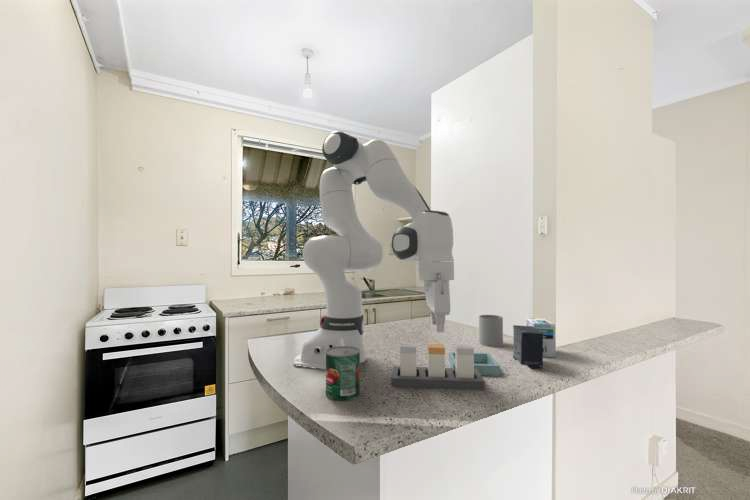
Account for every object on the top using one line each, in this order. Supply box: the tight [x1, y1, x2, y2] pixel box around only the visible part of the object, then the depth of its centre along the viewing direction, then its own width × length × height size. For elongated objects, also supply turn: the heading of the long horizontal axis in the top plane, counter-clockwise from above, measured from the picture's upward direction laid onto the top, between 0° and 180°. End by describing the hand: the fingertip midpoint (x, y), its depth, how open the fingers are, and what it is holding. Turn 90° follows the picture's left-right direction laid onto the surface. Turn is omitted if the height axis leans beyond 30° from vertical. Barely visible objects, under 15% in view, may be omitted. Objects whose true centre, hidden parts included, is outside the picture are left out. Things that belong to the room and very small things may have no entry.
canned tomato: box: [325, 346, 361, 402], centre depth 79 cm, size 8×8×11 cm
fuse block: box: [391, 365, 486, 391], centre depth 87 cm, size 22×9×3 cm, turn 84°
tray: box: [448, 351, 501, 376], centre depth 98 cm, size 12×12×4 cm
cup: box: [478, 314, 504, 348], centre depth 127 cm, size 8×8×10 cm
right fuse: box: [454, 343, 475, 378], centre depth 86 cm, size 4×4×9 cm
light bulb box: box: [526, 317, 557, 358], centre depth 116 cm, size 11×7×11 cm, turn 168°
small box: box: [512, 324, 544, 370], centre depth 105 cm, size 11×6×10 cm, turn 171°
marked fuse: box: [427, 342, 446, 377], centre depth 87 cm, size 4×4×9 cm
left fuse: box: [399, 342, 417, 376], centre depth 88 cm, size 4×4×9 cm
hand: (437, 328), depth 87 cm, fingers open, 8 cm apart
